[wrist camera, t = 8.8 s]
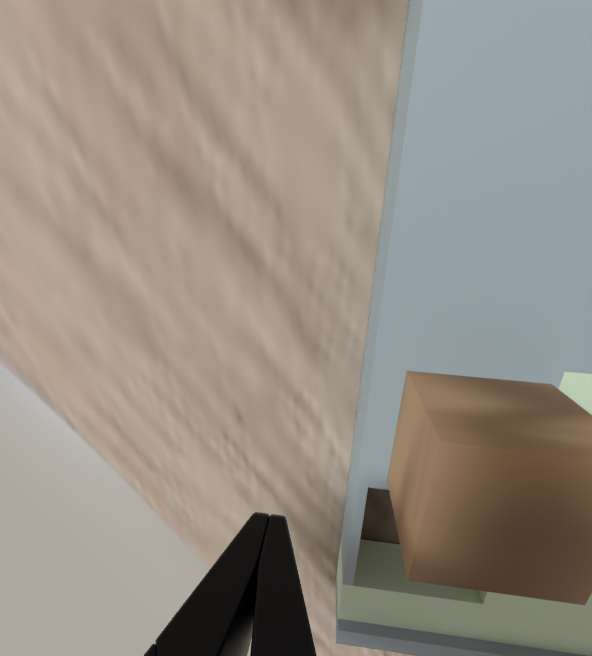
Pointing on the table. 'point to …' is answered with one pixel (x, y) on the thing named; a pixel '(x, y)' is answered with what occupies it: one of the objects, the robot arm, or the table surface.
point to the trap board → (475, 287)
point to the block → (493, 486)
